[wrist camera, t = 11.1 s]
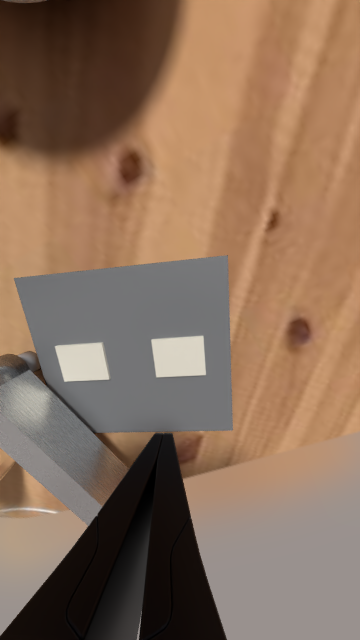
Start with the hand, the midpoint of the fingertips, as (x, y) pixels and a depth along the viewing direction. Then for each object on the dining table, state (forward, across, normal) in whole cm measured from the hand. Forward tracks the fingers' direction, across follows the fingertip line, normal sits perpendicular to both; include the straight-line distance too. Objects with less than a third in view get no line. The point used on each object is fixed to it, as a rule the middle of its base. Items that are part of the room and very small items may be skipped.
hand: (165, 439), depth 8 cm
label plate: (+10, +7, 0) cm, 12 cm away
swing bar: (+8, +12, +8) cm, 16 cm away
